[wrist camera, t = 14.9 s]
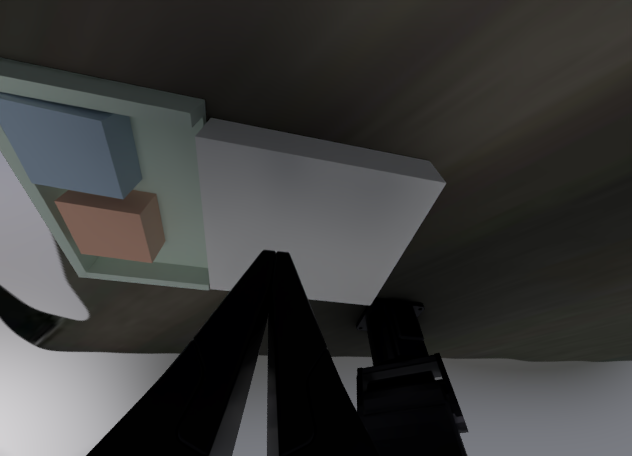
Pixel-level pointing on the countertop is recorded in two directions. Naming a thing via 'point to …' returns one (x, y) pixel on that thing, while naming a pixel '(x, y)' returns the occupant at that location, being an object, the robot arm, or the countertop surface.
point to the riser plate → (309, 207)
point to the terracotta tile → (114, 224)
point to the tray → (155, 164)
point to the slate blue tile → (71, 145)
